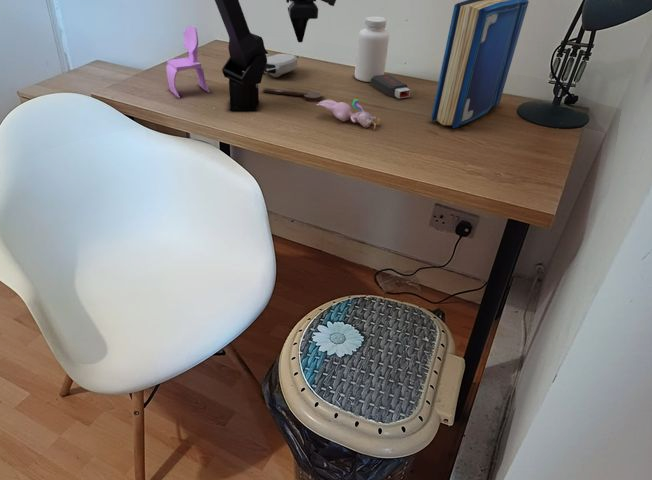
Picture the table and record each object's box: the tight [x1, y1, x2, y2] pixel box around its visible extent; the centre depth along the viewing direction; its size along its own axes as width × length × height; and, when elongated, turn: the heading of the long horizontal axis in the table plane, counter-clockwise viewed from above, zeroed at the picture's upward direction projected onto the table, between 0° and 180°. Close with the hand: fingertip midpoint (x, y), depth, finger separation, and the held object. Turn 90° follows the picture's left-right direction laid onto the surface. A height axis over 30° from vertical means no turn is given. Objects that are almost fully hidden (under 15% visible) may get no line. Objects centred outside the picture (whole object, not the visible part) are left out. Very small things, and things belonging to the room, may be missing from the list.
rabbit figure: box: [316, 98, 381, 130], centre depth 119 cm, size 6×6×15 cm
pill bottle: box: [354, 15, 390, 83], centre depth 139 cm, size 8×8×15 cm
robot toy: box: [264, 53, 303, 78], centre depth 146 cm, size 12×4×15 cm
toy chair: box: [165, 25, 210, 99], centre depth 129 cm, size 8×9×15 cm
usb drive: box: [370, 73, 411, 100], centre depth 136 cm, size 5×12×3 cm, turn 24°
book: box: [430, 0, 529, 129], centre depth 117 cm, size 22×7×25 cm, turn 134°
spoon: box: [262, 87, 322, 102], centre depth 133 cm, size 15×4×1 cm, turn 73°
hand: (300, 42), depth 128 cm, fingers closed
